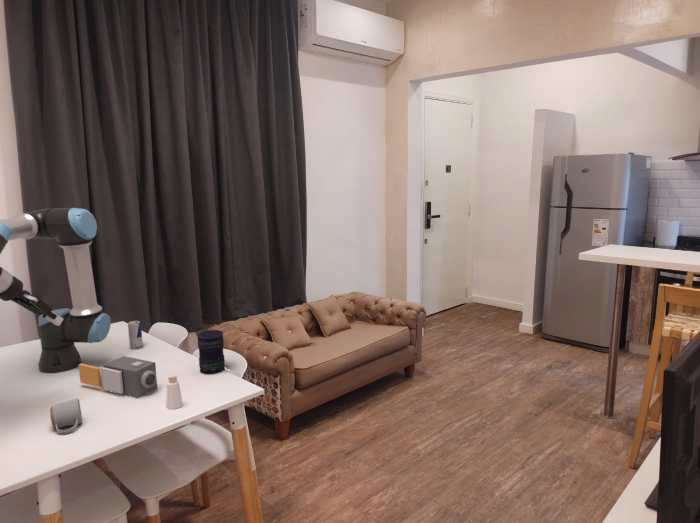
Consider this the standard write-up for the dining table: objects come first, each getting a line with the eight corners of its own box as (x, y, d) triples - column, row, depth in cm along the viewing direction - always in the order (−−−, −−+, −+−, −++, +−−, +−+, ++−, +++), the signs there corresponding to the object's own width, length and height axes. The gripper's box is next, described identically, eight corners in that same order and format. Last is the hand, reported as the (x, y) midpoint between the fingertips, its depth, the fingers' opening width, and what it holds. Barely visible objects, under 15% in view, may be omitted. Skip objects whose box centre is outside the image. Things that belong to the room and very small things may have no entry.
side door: (80, 384, 186) (78, 362, 184) (83, 383, 187) (81, 361, 185) (121, 394, 177) (118, 371, 175) (123, 393, 178) (121, 370, 177)
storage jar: (217, 363, 208) (215, 328, 205) (229, 369, 201) (227, 333, 198) (194, 369, 201) (192, 334, 198) (207, 376, 194) (204, 339, 191)
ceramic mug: (52, 422, 160) (49, 400, 158) (81, 416, 164) (79, 394, 162) (52, 438, 151) (49, 414, 149) (83, 431, 155) (80, 408, 153)
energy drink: (145, 346, 228) (143, 321, 225) (137, 350, 223) (134, 324, 221) (136, 345, 229) (133, 320, 227) (127, 349, 224) (125, 323, 222)
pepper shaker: (173, 411, 167) (170, 379, 165) (162, 407, 169) (160, 376, 167) (186, 404, 171) (184, 374, 169) (175, 400, 174) (173, 370, 172)
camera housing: (105, 390, 183) (102, 363, 181) (125, 380, 191) (123, 354, 189) (141, 399, 175) (139, 371, 173) (161, 389, 183) (159, 361, 181)
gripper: (-18, 293, 155) (40, 329, 173) (8, 297, 150) (66, 334, 168) (-3, 273, 159) (53, 310, 177) (24, 276, 154) (79, 314, 171)
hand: (59, 322), depth 172 cm, fingers closed
